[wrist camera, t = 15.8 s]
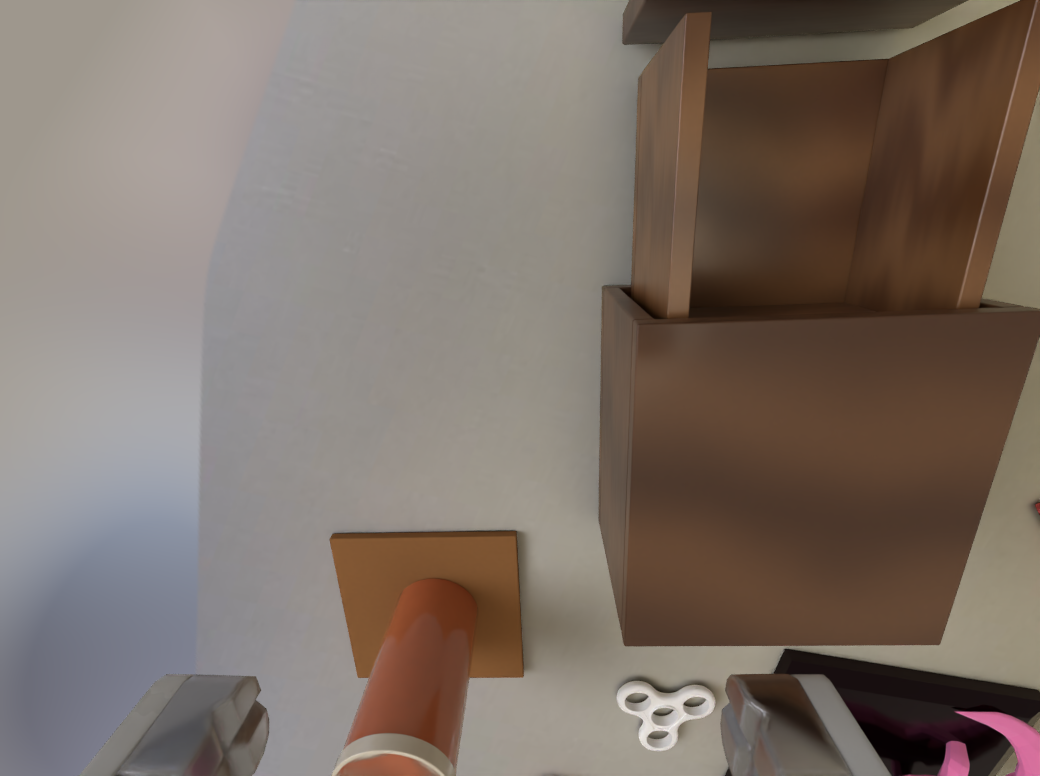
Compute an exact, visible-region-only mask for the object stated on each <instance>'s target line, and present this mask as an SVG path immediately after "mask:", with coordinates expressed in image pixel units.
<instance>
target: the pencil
mask: <svg viewBox="0 0 1040 776" xmlns="http://www.w3.org/2000/svg"><path fill="white" fill-rule="evenodd" d="M1035 506H1036V509H1037V511H1038V513H1039V515H1040V503H1038V504H1036V505H1035Z"/></svg>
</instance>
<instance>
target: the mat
mask: <svg viewBox="0 0 1040 776" xmlns="http://www.w3.org/2000/svg"><path fill="white" fill-rule="evenodd" d="M330 544H331V549H332V554H333V558H334V563H335V568H336V573H337V578H338V583H339V588H340V593H341V597H342V602H343V607H344V612H345V617H346V622H347V627H348V632H349V637H350V641H351V646H352V651H353V656H354V661H355V666H356V671H357V676H358V678H369V676H370V674H371V671H372V668H373V665H374V663H375V660H376V657H377V654H378V651H379V649H380V646H381V643H382V640H383V638H384V635H385V632H386V629H387V627H388V624H389V621H390V618H391V616H392V613H393V610H394V607H395V605H396V602H397V599H398V597H399V595H400V594H401V592H402V591H403V590H404V589H405V588H406V587H407V586H409V585H410V584H412V583H414V582H416V581H419V580H422V579H429V578H439V579H445V580H449V581H452V582H454V583H456V584H458V585H460V586H462V587H463V588H465V589H466V590H467V591H468V592H469V593H470V594H471V595H472V597H473V598H474V600H475V602H476V604H477V607H478V623H477V630H476V637H475V644H474V651H473V658H472V665H471V672H470V678H501V677H523V676H524V667H523V647H522V628H521V608H520V589H519V569H518V550H517V532H516V531H481V532H414V533H346V534H332V536H331V538H330Z"/></svg>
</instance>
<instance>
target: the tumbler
mask: <svg viewBox="0 0 1040 776" xmlns="http://www.w3.org/2000/svg"><path fill="white" fill-rule="evenodd" d="M477 623H478V607H477V604H476V602H475V600H474V598H473V597H472V595H471V594H470V593H469V592H468V591H467V590H466V589H465V588H463V587H462V586H460V585H458V584H456V583H454V582H452V581H449V580H445V579H439V578H429V579H422V580H419V581H416V582H414V583H412V584H410V585H409V586H407V587H406V588H405V589H404V590H403V591H402V592H401V594H400V595H399V597H398V599H397V602H396V605H395V607H394V610H393V613H392V616H391V618H390V621H389V624H388V627H387V629H386V632H385V635H384V638H383V640H382V643H381V646H380V649H379V651H378V654H377V657H376V660H375V663H374V665H373V668H372V671H371V674H370V676H369V679H368V682H367V685H366V687H365V690H364V693H363V696H362V698H361V701H360V704H359V707H358V709H357V712H356V715H355V718H354V721H353V723H352V726H351V729H350V732H349V734H348V737H347V740H346V743H345V745H344V748H343V751H342V752H341V753H340V755H339V757H338V759H337V761H336V764H335V767H334V769H333V772H332V775H331V776H456V768H457V761H458V755H459V748H460V741H461V734H462V727H463V720H464V713H465V706H466V699H467V692H468V685H469V679H470V672H471V665H472V658H473V651H474V644H475V637H476V630H477Z"/></svg>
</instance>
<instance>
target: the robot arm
mask: <svg viewBox="0 0 1040 776" xmlns="http://www.w3.org/2000/svg"><path fill="white" fill-rule="evenodd" d="M260 691H261V689H260V686H259V683H258V681H257V678H256V676H226V675H187V674H178V675H177V674H166V675H165V676H163V677H162V678H160V679H159V680H157V681H156V682H155V683H154V684H153V685H152V686H151V687H150V689H149V690H148V691H147V692H146V694H145V695H144V696H143V697H142V699H141V700H140V701H139V702H138V703H137V705H136V706H135V707H134V709H133V710H132V711H131V712H130V713H129V715H128V716H127V717H126V718H125V720H124V721H123V722H122V723H121V724H120V726H119V727H118V728H117V729H116V731H115V732H114V733H113V734H112V736H111V737H110V738H109V739H108V741H107V742H106V743H105V744H104V746H103V747H102V748H101V749H100V751H99V752H98V753H97V754H96V755H95V757H94V758H93V759H92V760H91V762H90V763H89V764H88V765H87V767H86V768H85V769H84V770H83V772H82V773H81V774H80V775H79V776H252V775H253V774H254V773H255V771H256V769H257V767H258V765H259V763H260V760H261V758H262V756H263V754H264V751H265V747H266V743H267V739H268V735H269V717H268V713H267V709H266V708H265V707H264V706H262V705H261V704H260V703H259V702H258V701H256V698H257V696H258V695H259V693H260ZM725 691H726V694H727V696H728V699H729V702H730V703H729V704H728V705H727V706H725V707H724V708H723V709H722V715H721V724H720V725H721V735H722V743H723V747H724V751H725V756H726V759H727V762H728V765H729V768H730V771H731V774H732V776H891V774H890V773H889V771H888V769H887V768H886V766H885V765H884V763H883V762H882V760H881V759H880V757H879V756H878V754H877V752H876V751H875V749H874V748H873V746H872V745H871V743H870V742H869V740H868V738H867V737H866V735H865V734H864V732H863V731H862V729H861V728H860V726H859V724H858V723H857V721H856V720H855V718H854V717H853V715H852V714H851V712H850V710H849V709H848V707H847V706H846V704H845V703H844V701H843V700H842V698H841V697H840V695H839V693H838V692H837V690H836V689H835V687H834V686H833V684H832V683H831V681H830V680H829V679H828V678H827V677H825V676H824V675H821V674H793V675H789V674H740V675H730V676H729V678H728V679H727V683H726V688H725Z"/></svg>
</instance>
